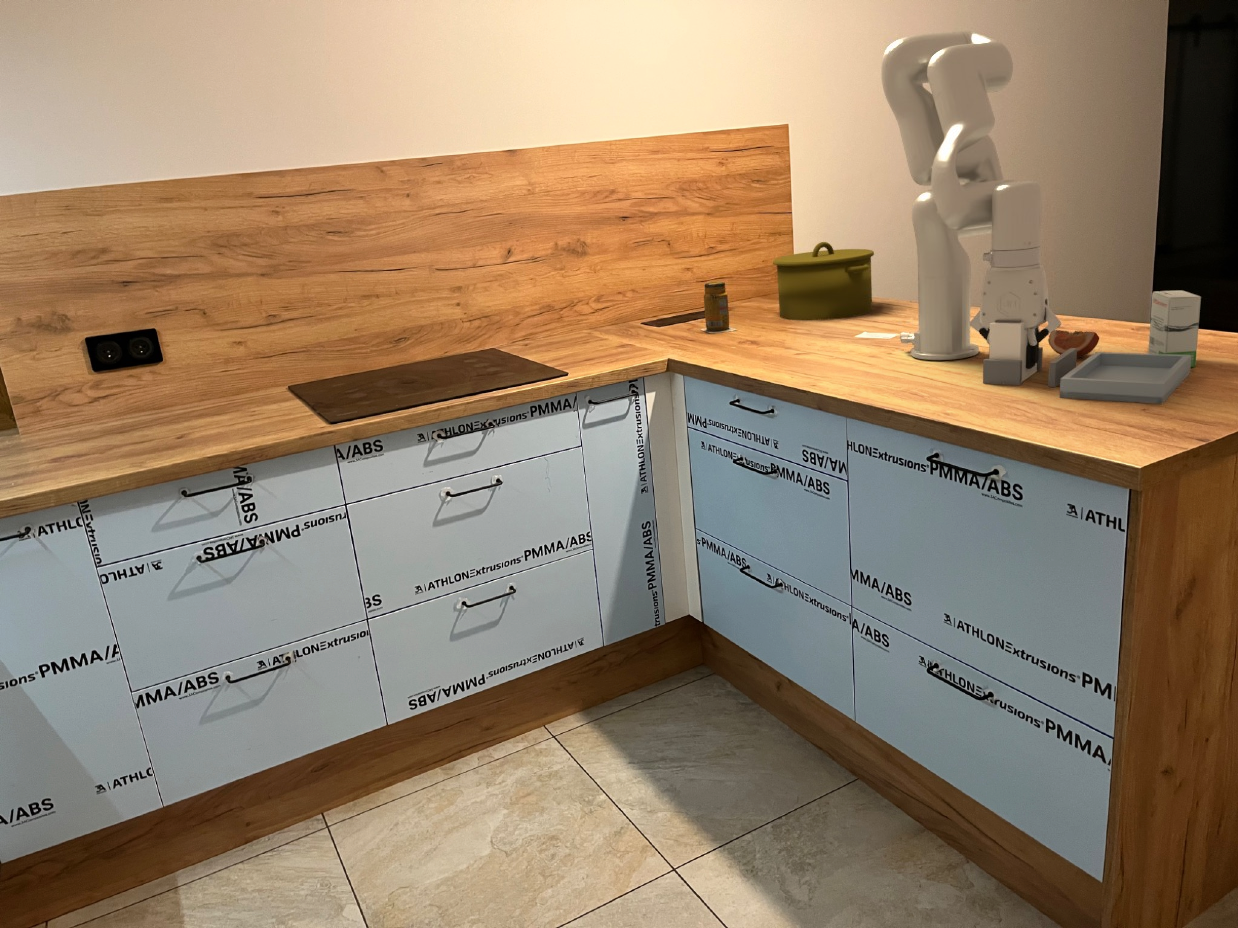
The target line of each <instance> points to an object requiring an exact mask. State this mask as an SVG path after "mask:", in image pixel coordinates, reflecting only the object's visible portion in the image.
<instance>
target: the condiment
mask: <svg viewBox="0 0 1238 928" xmlns="http://www.w3.org/2000/svg"><path fill="white" fill-rule="evenodd" d="M703 305H704V306H703V307H704V319H705V327H706V328H701V329H700V330H701V331H703V332H706V333H708V334H718V333H721V334H722V333H727V332H728V333H729V332H733V331H737V330H738V329H737V328H734V327H731V326H730V311H729V297H728V293H727V292H726V283H725V282H724V281H712V282H710V281H709V282H706V283H704V294H703Z"/></svg>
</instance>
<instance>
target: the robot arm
mask: <svg viewBox="0 0 1238 928" xmlns="http://www.w3.org/2000/svg"><path fill="white" fill-rule="evenodd" d="M1013 62H1014V61H1013V57H1012V55H1011V53H1010V51H1009V49H1008V48H1007V47H1006V45H1005V44H1004V43H1003V42H1001V41H999V40H997V39H995V38H992V37H990V36H986V35H984V34H981V33H979V32H977V31H972V30H956V31H955V30H953V31H946V32H944V31H943V32H936V33H935V32H934V33H933V32H932V33H924V34H916V35H908V36H906V37H905V36H904V37H902V38H899V39H897V40H895V41H893V42H892V43H891V44H890V45H889V46H888V47H887V48H886V49H885V51H884V54H883V56H882V60H881V66H880V67H881V68H880V69H881V73H880V74H881V75H880V76H881V84H882V89H883V93H884V96H885V99H886V101H887V103H888V105H889V107H890V109H891V111H892V113H893V115H894V117H895V119H896V122H897V125H898V128H899V129H898V130H899V133H900V137H901V142H902V146H903V150H904V153H905V158H906V162H907V165H908V171H909V173H910V176H911V178H912V180H913V181H914V182H915V184H917V185H919V186H923V187H926V186H927V187H930V186H931V189H929V190H927V191H924V192H922V193H921V194H920V195H918V197H917V198H916V199H915V200H914V202H913V205H912V208H911V221H912V225H913V230H914V231H913V232H914V236H915V243H916V253H917V277H918V279H917V282H918V283H917V287H918V288H917V289H918V290H917V291H918V292H917V293H918V294H917V295H918V297H917V299H918V302H917V303H918V306H917V307H918V330H917V331H916V332H901V333H900V336H899V341H900V343H901V344H912V345H913V347H912V348H911V349H910V356H912V357H913V358H916V359H920V360H925V361H928V360H929V361H951V360H960V359H967V358H971V357H973V356H976V355H978V353H979V352H980V349H979V346H978V345H977V344H974V343H971V327H972V328H973V330H975V331H976V332H978V333H979V334H980V336H981V337H982V338H983V339H984V340H985V341H986V343H987V344H988V345H989V346H988V347H989V349H988V350H989V351H988V356H989V355H990V323H992V322H995V321H996V320H1021V322H1024V328H1025V329H1027V336H1028V340H1029V343H1028V346H1027V347H1026V368H1027V369H1031V368H1032V367H1034V366H1035V364H1036V363H1037V362H1038V359H1039V347H1040V343H1041V342H1042V341H1043V340H1044V339H1045V338H1046V337H1047V336H1049V335H1050V333H1051V332H1052V331H1054V330H1058V328H1059V327H1061V326H1062V322H1061V321H1060V319H1059V318H1058V316H1056V314H1055V313H1054V312H1053V311H1052V309H1051V308H1050V306H1049V305H1050V304H1049V303H1050V302H1049V289H1048V281H1047V273H1046V268H1045V266H1044V265H1041V249H1042V246H1041V243H1042V216H1043V215H1042V213H1043V212H1042V209H1043V187H1042V185H1041V184H1040V182H1038V181H1035V180H1023V181H1022V180H1021V181H1020V180H1019V181H1017V180H1016V179H1015V180H1014V179H1004V175H1003V172H1002V171H1003V170H1002V167H1001V164H1000V159H999V158H1000V157H999V154H998V151H997V148H996V146H995V143H994V141H993V139H992V138H991V137H990V135H989V134H990V133H991V132H992V130H993V129H994V127H995V123H996V120H995V116H994V111H993V109H992V105H991V102H990V99H989V96H988V94H991V93H998V92H1000V91H1002V90H1004V89H1005V88H1006V87H1008V85H1009V83H1010V81H1011V79H1012V77H1013V71H1014V63H1013ZM926 83H927V84H929V87H930V90H931V91H929V90H927V88H925V87H924V84H926ZM961 183H964V184H961ZM988 234H991V242H990V243H991V247H990V248H991V249H990V250H989V251H988V252H984V253H983V254H982V260H983V262H989V266H990V267H988V268H986V269H985V272H984V276H983V281H982V290H981V294H980V295H981V298H980V307H979V311H978V312H977V313H976V314H975V316H973V318H972V320H971V285H972V284H971V282H972V280H971V276H972V275H971V272H972V271H971V269H972V268H971V259H970V256H969V255H968V252H967V251H966V248H964V246H963V245H962V243H961V242H960V239H961V238H966V237H973V236H974V237H975V236H979V235H988ZM1045 323H1047V325H1046V326H1045V327H1043V329H1041V330H1040V326H1041V325H1044V324H1045Z"/></svg>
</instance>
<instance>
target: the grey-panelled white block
mask: <svg viewBox="0 0 1238 928" xmlns="http://www.w3.org/2000/svg"><path fill="white" fill-rule="evenodd" d="M989 329H990V355H989V354H988V359H1001V360H1022V382H1024V381H1025V380H1027V379H1028V378H1030V377H1031V376H1032V375H1034V374H1035V373H1037V372H1038V371H1037V363H1036V364H1035V366H1034V367H1032V368H1031V369H1027V368H1026V347H1027V346H1028V343H1029V340H1028V336H1027V329H1025V328H1024V322H1021V320H996V321H995V322H992V323H990V328H989Z"/></svg>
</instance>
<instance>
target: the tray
mask: <svg viewBox="0 0 1238 928" xmlns="http://www.w3.org/2000/svg"><path fill="white" fill-rule="evenodd" d="M1191 368H1192V367H1191V355H1172V354H1148V353H1136V352H1112V351H1111V352H1110V351H1109V352H1108V351H1106V352H1105V351H1096V352H1094V353H1092V354H1091V355H1090V356H1088V358H1086V359H1085V360H1083V361H1082V362H1080V363H1079V364H1078V365H1076V367H1075V368H1074V369H1073V370H1071V371H1070V372H1069V373H1067V374H1066V375H1065V376H1063V377H1062V378H1061V381H1060V384H1059V386H1060V387H1059V398H1063V399H1078V400H1094V401H1095V400H1097V401H1106V402H1107V401H1109V402H1122V403H1123V402H1125V403H1141V404H1142V403H1143V404H1153V405H1154V404H1156V405H1157V404H1158V405H1162V404H1164V402H1165V401H1167V400H1168V398H1169V397H1170V396H1171V395H1172V394H1173V393H1174V392H1175V391H1176V390H1177V388H1178V387H1179V386H1180V385H1182V383H1183V382H1184V381H1185V380H1186V379H1187V377H1188V376H1189V375H1190V374H1191Z"/></svg>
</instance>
